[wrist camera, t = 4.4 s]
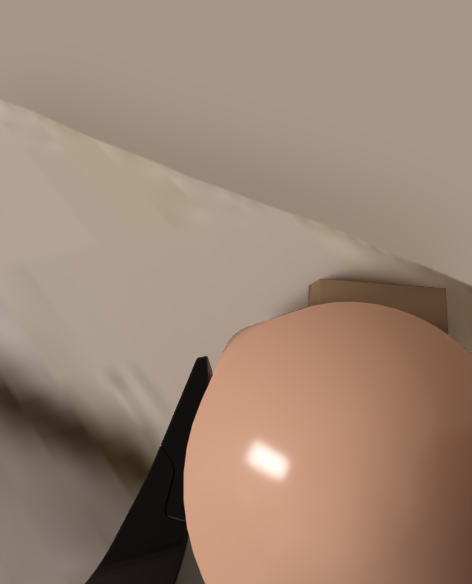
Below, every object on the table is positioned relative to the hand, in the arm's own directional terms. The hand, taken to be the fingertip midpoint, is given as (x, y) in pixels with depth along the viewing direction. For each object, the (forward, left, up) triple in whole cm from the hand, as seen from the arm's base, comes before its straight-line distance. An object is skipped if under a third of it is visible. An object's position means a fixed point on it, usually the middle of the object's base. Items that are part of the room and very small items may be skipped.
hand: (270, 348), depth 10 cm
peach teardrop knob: (-1, -1, -7) cm, 7 cm away
